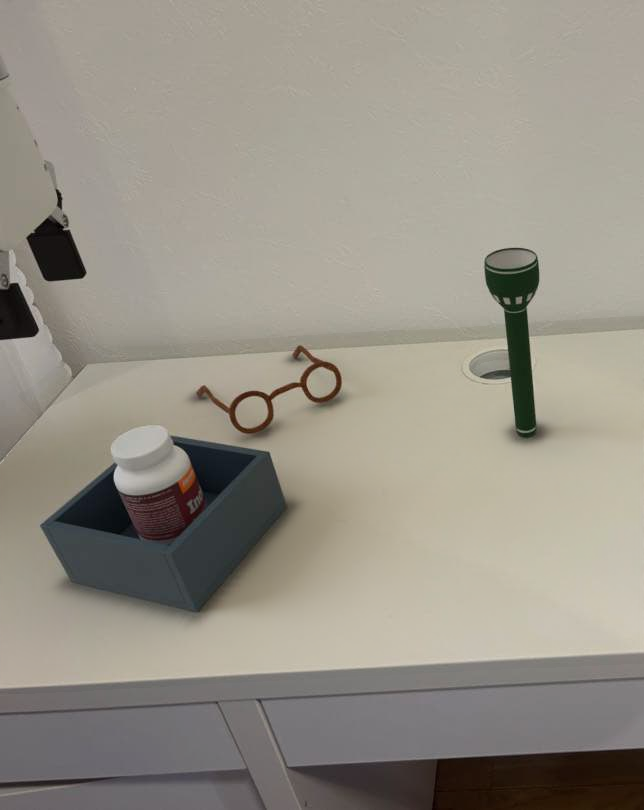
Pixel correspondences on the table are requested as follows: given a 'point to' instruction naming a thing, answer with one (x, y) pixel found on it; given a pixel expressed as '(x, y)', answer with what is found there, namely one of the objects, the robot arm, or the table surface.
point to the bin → (192, 551)
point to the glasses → (277, 393)
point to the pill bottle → (156, 484)
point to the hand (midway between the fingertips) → (43, 305)
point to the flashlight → (516, 323)
